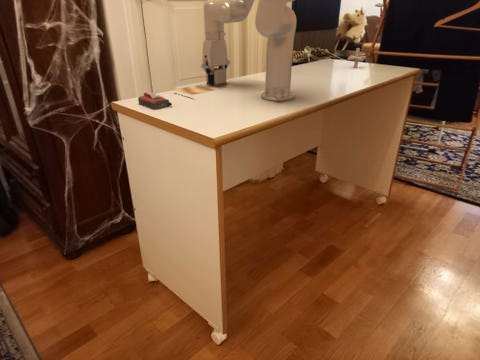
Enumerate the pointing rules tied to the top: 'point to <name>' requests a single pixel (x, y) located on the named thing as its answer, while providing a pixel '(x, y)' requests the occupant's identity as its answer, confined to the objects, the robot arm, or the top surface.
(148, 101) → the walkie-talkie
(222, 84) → the block
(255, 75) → the top surface
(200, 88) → the board
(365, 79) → the top surface
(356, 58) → the pipe connector
